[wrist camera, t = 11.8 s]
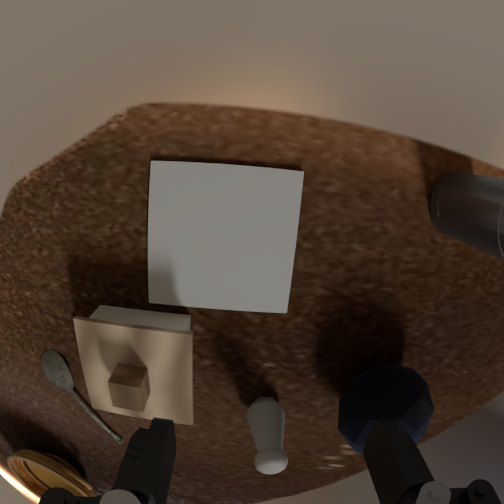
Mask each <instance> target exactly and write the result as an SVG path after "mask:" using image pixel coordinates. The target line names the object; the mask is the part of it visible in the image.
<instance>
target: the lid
mask: <svg viewBox="0 0 504 504" xmlns="http://www.w3.org/2000/svg"><path fill="white" fill-rule="evenodd" d="M73 321H74V327H75V333H76V339H77V344H78V349H79V354H80V359H81V364H82V368H83V373H84V377H85V381H86V385H87V389H88V393H89V397H90V400H91V404H92V408H95V409H99V410H104V411H108V412H113V413H118V414H123V415H128V416H133V417H139V418H145V419H151V420H153V418H154V417H157V418H163V419H170V420H173V422H174V423H179V424H188V425H193V423H194V412H193V331H186V330H176V329H167V328H158V327H150V326H142V325H134V324H126V323H119V322H112V321H106V320H99V319H93V318H87V317H81V316H75V317H74V318H73Z"/></svg>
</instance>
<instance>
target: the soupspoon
mask: <svg viewBox="0 0 504 504" xmlns="http://www.w3.org/2000/svg"><path fill="white" fill-rule="evenodd" d="M41 366H42V370H43V372H44V374H45V376H46V377H47V379H48V380H49V381H50V382H51V383H52V384H53V385H54V386H56V387H57V388H60V389H62V390H67V391H69V392H70V393H71V395H72V396H73V397H74V398H75V399H76V401H77V402H78V403H79V404H80V405H81V406H82V407H83V408H84V409H85V410H86V412H88V413H89V414H90V415H91V416H92V417H93V418H94V419H95V420H96V421H97V422H98V423H99V424H100V425H101V426H102V427H103V428H104V429H105V430H106V431H108V432H109V434H110V435H112V436H113V438H114V439H115V440H116V441H117V443H118V444H120V443H122V442H123V441H124V439H123V438H121V437H120V436H117V435H116V434H115V433H113V431H110V430H109V429H108V428H107V427H106V426H105V425H104V424H103V423H102V422H101V421H100V420H99V419H98V418H97V417H96V416H95V415H94V414H93V413H92V412H91V411H90V410H89V409H88V407H87V406H86V405H85V404H84V403H83V402H82V401H81V399H80V398H79V397H78V396H77V394H76V393H75V392H74V390H73V380H72V376H71V373H70V371H69V368H68V367H67V365H66V363H65V361H64V360H63V358H62V356H61V355H60V354H59V353H57V352H56V351H53V350H48V351H45V352H44V353H43V354H42V356H41Z"/></svg>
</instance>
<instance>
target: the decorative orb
mask: <svg viewBox="0 0 504 504" xmlns="http://www.w3.org/2000/svg"><path fill="white" fill-rule="evenodd" d="M433 410H434V408H433V404H432V400H431V395H430V391H429V387H428V384H427V382H426V381H425V380H424V379H423V378H422V377H421V376H420V375H419V374H418V373H417V372H416V371H415V370H414V369H410V368H406V367H402V366H398V365H394V364H390V363H385V364H382V365H380V366H378V367H375V368H373V369H370V370H368V371H365V372H363V373H360V374H358V375H357V376H356V378H355V379H354V380H353V381H352V383H351V384H350V385H349V386H348V388H347V389H346V391H345V392H344V394H343V395H342V397H341V398H340V399H339V418H338V430H339V432H340V433H341V434H342V436H343V437H344V438H345V439H346V441H347V442H348V443H349V445H350V446H351V447H352V449H353V450H354V451H355V452H358V453H361V454H364V453H363V450H364V445H365V443H366V440H367V438H368V436H369V434H370V432H371V430H372V427H373V425H374V424H375V423H376V422H381V421H388V420H393V421H395V423H396V425H397V426H398V428H399V430H405V431H406V432H407V433H408V434H409V435H410V436H411V437H412V438H413V440H414V442H415V443H416V442H417V441H418V440H420V439H421V438H422V437H423V436H424V435H425V433H426V430H427V427H428V425H429V422H430V419H431V416H432V413H433Z"/></svg>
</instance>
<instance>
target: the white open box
mask: <svg viewBox="0 0 504 504" xmlns="http://www.w3.org/2000/svg"><path fill="white" fill-rule="evenodd" d="M89 318H93V319H99V320H106V321H112V322H119V323H126V324H134V325H142V326H150V327H158V328H167V329H176V330H186V331H190V315H185V314H175V313H165V312H155V311H146V310H138V309H129V308H121V307H113V306H106V305H100V306H99V307H98V308H97V309H96V310H95V311H94V313H93V314H92V315H91V316H90V317H89Z"/></svg>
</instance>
